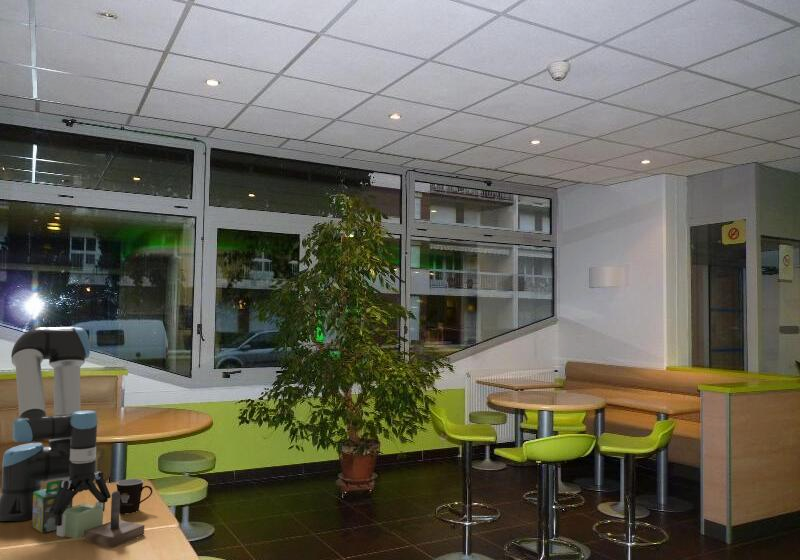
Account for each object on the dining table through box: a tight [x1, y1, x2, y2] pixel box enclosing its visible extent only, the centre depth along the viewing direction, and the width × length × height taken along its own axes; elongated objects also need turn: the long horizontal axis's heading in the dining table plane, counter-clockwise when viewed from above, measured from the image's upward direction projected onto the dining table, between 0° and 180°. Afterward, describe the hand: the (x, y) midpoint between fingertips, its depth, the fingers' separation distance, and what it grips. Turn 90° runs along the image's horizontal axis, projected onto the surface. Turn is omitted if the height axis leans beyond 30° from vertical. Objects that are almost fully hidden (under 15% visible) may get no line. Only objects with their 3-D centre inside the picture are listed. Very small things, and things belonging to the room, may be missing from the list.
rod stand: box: [83, 490, 145, 548], centre depth 195 cm, size 12×12×14 cm
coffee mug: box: [116, 478, 153, 515], centre depth 221 cm, size 12×9×10 cm
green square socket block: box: [63, 503, 104, 540], centre depth 200 cm, size 9×9×7 cm
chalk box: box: [31, 479, 74, 534], centre depth 205 cm, size 9×9×15 cm
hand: (80, 529), depth 200 cm, fingers open, 13 cm apart
